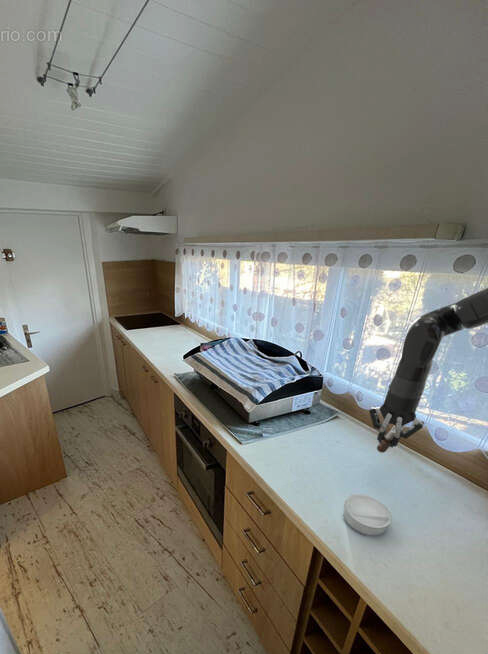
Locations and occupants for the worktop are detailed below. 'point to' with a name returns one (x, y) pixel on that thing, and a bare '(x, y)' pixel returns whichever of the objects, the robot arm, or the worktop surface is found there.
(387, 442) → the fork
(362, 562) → the worktop surface
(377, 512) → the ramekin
